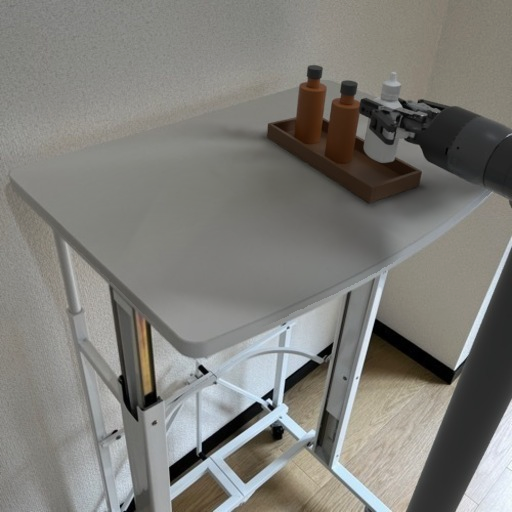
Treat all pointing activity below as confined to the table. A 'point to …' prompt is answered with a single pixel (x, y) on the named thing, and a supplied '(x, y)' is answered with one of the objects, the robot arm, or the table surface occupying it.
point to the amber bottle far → (310, 107)
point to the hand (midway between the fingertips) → (372, 102)
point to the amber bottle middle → (343, 124)
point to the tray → (348, 164)
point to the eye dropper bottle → (389, 99)
